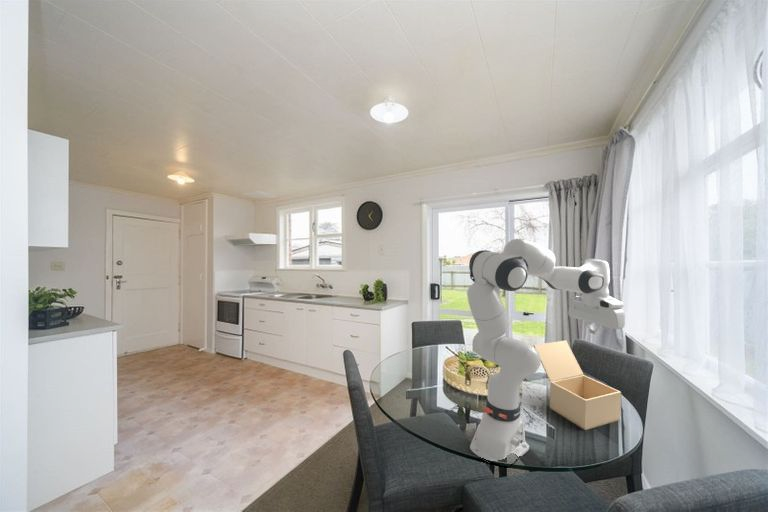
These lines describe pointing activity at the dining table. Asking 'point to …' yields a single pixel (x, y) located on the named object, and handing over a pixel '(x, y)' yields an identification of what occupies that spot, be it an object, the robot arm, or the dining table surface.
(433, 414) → the dining table surface
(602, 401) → the carton
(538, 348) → the carton flap
